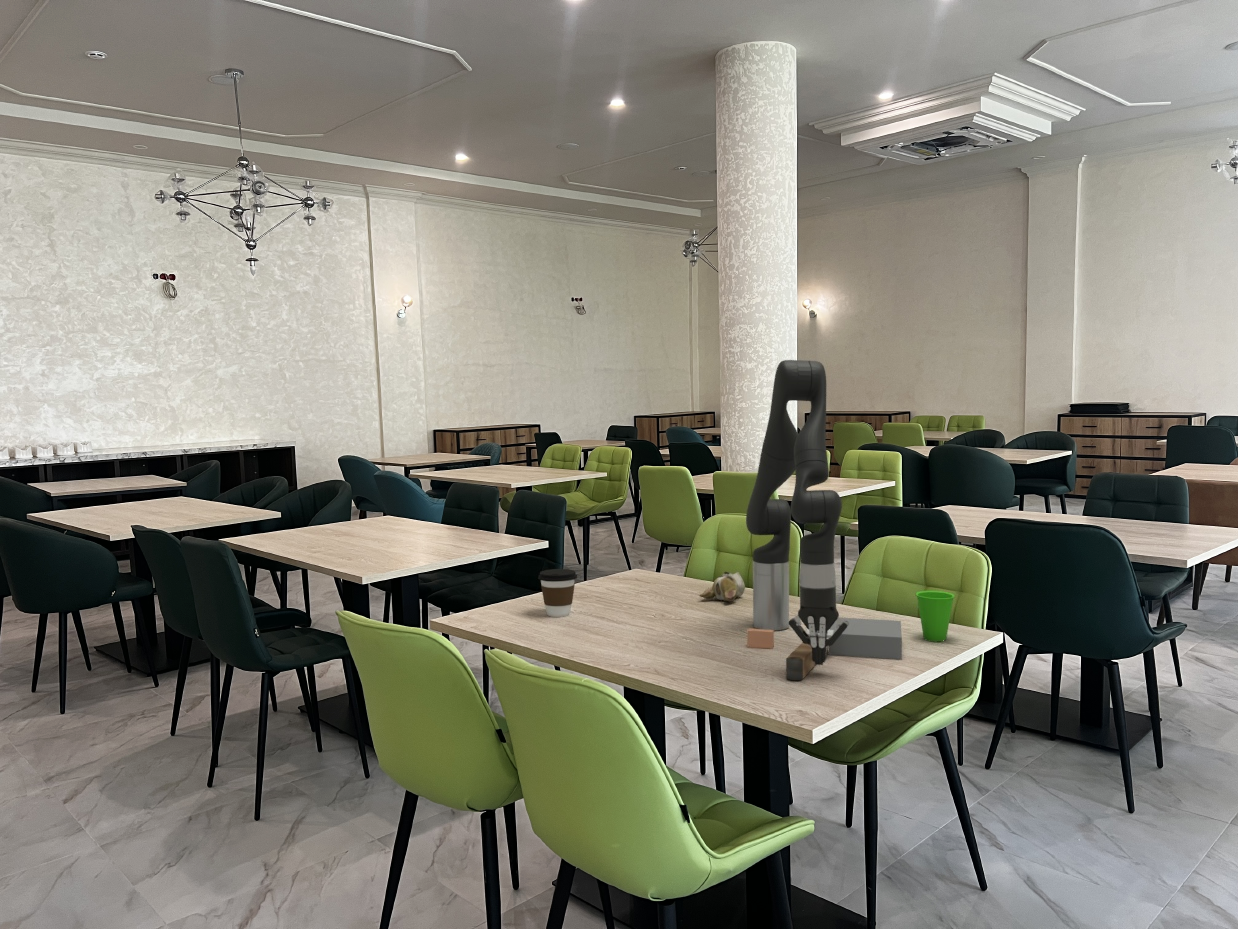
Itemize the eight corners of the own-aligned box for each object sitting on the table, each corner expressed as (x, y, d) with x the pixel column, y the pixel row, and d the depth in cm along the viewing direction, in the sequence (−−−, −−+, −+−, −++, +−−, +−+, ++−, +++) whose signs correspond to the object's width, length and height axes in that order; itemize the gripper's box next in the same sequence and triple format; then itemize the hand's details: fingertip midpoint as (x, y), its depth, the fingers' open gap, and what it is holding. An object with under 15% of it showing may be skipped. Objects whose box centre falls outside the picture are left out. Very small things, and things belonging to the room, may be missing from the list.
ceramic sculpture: (753, 568, 265) (727, 579, 253) (754, 596, 265) (729, 609, 254) (722, 565, 271) (696, 576, 259) (724, 593, 272) (698, 605, 260)
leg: (811, 650, 206) (811, 633, 206) (826, 651, 204) (826, 634, 204) (784, 679, 184) (784, 660, 184) (800, 681, 183) (800, 662, 183)
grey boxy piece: (755, 632, 224) (755, 610, 223) (900, 641, 214) (900, 617, 213) (744, 652, 206) (744, 627, 206) (901, 662, 196) (901, 636, 196)
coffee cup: (573, 619, 240) (572, 576, 240) (534, 618, 242) (533, 575, 241) (581, 610, 251) (580, 568, 250) (544, 609, 253) (543, 568, 252)
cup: (952, 635, 218) (953, 591, 218) (956, 645, 210) (956, 599, 209) (914, 633, 221) (914, 590, 220) (916, 642, 212) (916, 597, 211)
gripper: (851, 581, 189) (853, 661, 190) (790, 579, 194) (791, 657, 195) (846, 588, 182) (848, 671, 183) (783, 585, 187) (784, 666, 188)
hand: (819, 663), depth 189 cm, fingers closed
